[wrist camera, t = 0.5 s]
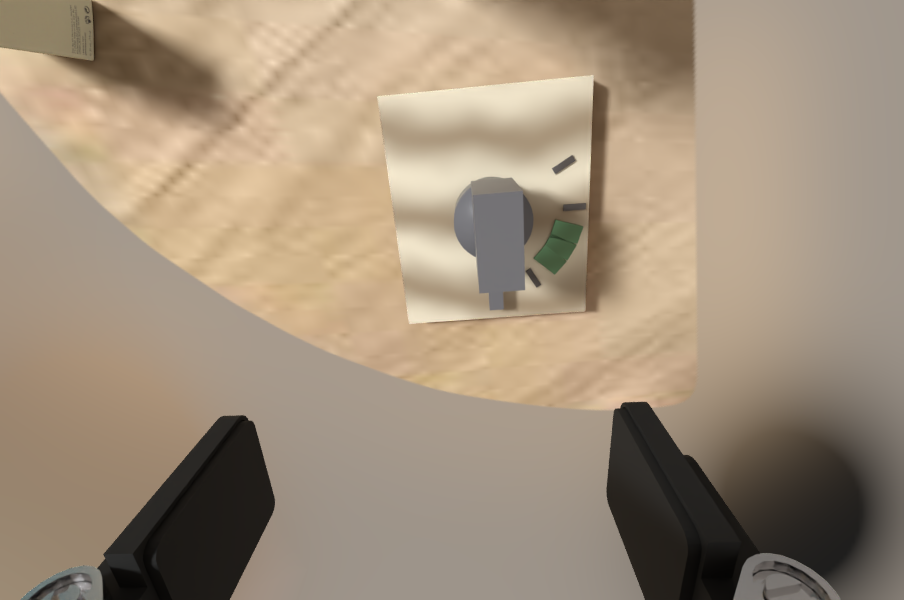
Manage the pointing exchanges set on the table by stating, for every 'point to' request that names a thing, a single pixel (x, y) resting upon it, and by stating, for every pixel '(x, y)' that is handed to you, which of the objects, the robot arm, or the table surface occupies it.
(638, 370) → the table surface
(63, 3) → the skincare box
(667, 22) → the table surface
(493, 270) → the knob
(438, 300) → the dial board
